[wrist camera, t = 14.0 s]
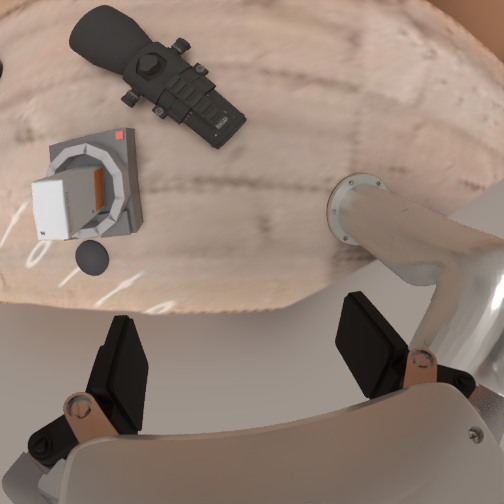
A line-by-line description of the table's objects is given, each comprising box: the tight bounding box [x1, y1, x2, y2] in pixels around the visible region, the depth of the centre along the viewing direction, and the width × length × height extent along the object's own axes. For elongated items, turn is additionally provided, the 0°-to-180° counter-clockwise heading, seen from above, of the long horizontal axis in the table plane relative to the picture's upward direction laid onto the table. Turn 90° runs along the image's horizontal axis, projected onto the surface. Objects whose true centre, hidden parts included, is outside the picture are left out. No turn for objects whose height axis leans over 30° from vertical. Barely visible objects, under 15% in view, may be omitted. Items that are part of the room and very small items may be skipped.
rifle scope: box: [69, 5, 247, 149], centre depth 26 cm, size 10×26×10 cm, turn 46°
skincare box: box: [31, 165, 105, 241], centre depth 25 cm, size 6×4×12 cm
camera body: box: [46, 128, 143, 241], centre depth 31 cm, size 12×14×8 cm
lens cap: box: [75, 240, 109, 276], centre depth 39 cm, size 6×6×1 cm
